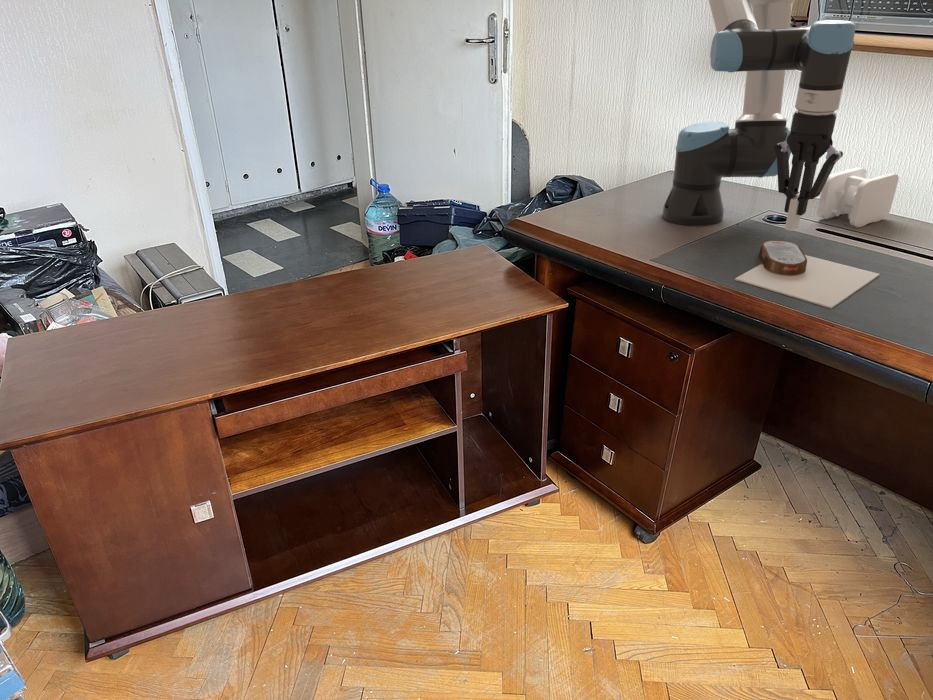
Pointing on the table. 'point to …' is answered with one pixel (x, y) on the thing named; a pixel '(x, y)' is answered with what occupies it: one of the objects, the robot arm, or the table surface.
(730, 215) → the table surface
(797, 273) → the tin
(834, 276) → the mat
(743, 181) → the table surface
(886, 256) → the table surface
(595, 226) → the table surface
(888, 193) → the cable organizer
